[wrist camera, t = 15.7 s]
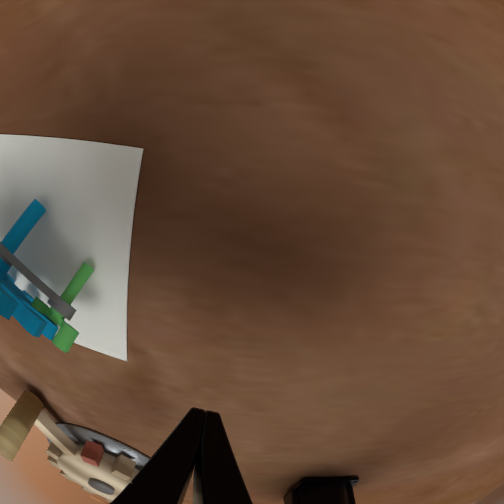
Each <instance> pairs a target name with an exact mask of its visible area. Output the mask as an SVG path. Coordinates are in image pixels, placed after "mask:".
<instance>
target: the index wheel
mask: <svg viewBox="0 0 504 504" xmlns="http://www.w3.org/2000/svg"><path fill="white" fill-rule="evenodd" d="M43 408H44V405H43V403H42V402H41V400H40V399H39V398H38V397H37V396H36V395H34V394H33V393H31V392H29V391H24V392H23V394H22V395H21V397H20V398H19V399H18V401H17V402H16V404H15V405H14V407H13V408H12V409H11V411H10V413H9V414H8V415H7V417H6V418H5V420H4V421H3V423H2V424H1V426H0V454H1V455H2V456H4V457H5V458H7V459H8V460H10V461H13V459H14V458H15V456H16V454H17V452H18V450H19V449H20V447H21V445H22V443H23V442H24V440H25V438H26V436H27V435H28V433H29V431H30V429H31V428H32V426H33V425H34V424H35V425H36V426H37V427H38V428H39V429H40V430H41V431H42V432H43V433H44V434H45V435H46V436H47V437H48V438H49V439H50V440H51V441H52V442H51V443H50V446H49V447H48V449H47V451H46V453H47V454H48V455H49V457H48V460H49V462H50V463H51V465H53V466H55V467H57V468H59V469H61V472H60V474H62V475H63V476H64V477H65V478H67V479H68V480H71V481H75V482H77V483H78V484H80V485H82V489H84V490H85V491H87V492H89V493H91V494H95V493H97V494H98V495H101V496H103V497H105V498H106V499H107V501H109V502H112V501H113V500H114V499H115V498H116V497H117V496H118V495H119V494H120V493H121V492H122V491H123V489H124V488H125V487H126V486H127V485H128V484H129V483H131V481H132V479H133V478H134V477H135V476H136V475H137V474H138V472H139V470H138V469H136V468H134V467H135V464H136V462H135V461H133V460H131V459H129V458H127V457H126V456H124V455H122V454H121V455H120V456H118V457H117V458H116V457H114V456H112V455H109V454H107V453H105V452H104V450H103V447H102V445H99V444H96V443H94V442H91V441H88V440H87V441H86V443H85V445H81V444H75V443H74V442H73V441H72V440H71V439H70V438H69V437H68V436H67V435H66V434H65V433H64V432H63V431H62V430H61V429H60V428H59V427H58V426H57V425H56V424H55V423H54V422H53V421H52V420H51V419H50V418H49V417H48V416H47V415H46V413H45V412H44V411H43Z"/></svg>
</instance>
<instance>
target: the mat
mask: <svg viewBox="0 0 504 504" xmlns="http://www.w3.org/2000/svg"><path fill="white" fill-rule="evenodd" d="M142 155H143V149H142V148H136V147H129V146H122V145H115V144H108V143H100V142H92V141H83V140H74V139H64V138H54V137H41V136H27V135H8V134H0V242H1V241H2V240H3V239H4V237H5V236H6V235H7V233H8V232H9V230H10V229H11V228H12V226H13V225H14V224H15V223H16V221H17V220H18V219H19V217H20V216H21V215H22V214H23V212H24V211H25V210H26V209H27V207H28V206H29V205H30V204H31V203H32V201H33V200H34V199H36V200H37V201H39V202H40V203H41V204H42V206H43V207H44V208H45V209H46V212H45V213H44V214H43V216H42V217H41V218H40V219H39V221H38V222H37V223H36V224H35V226H34V227H33V228H32V230H31V231H30V232H29V234H28V235H27V236H26V238H25V239H24V240H23V242H22V243H21V244H20V246H19V247H18V249H17V250H16V251H15V253H14V254H13V255H14V256H15V257H16V258H17V259H18V260H20V261H21V262H22V263H23V264H24V265H25V266H26V267H27V268H28V269H29V270H30V271H31V272H32V273H33V274H35V275H36V276H37V277H38V278H39V279H40V280H41V281H42V282H44V283H45V284H46V285H47V286H48V287H49V288H50V289H52V290H53V291H54V292H55V293H56V294H58V295H59V296H61V295H62V293H63V292H64V290H65V289H66V287H67V286H68V284H69V283H70V281H71V280H72V278H73V277H74V276H75V274H76V273H77V271H78V270H79V269H80V267H81V266H82V264H83V263H84V262H85V263H86V264H88V265H89V266H90V267H91V268H92V269H93V270H94V271H93V273H92V274H91V276H90V277H89V278H88V280H87V281H86V283H85V284H84V286H83V287H82V289H81V290H80V291H79V293H78V294H77V296H76V297H75V299H74V300H73V302H72V303H71V306H72V307H73V308H75V309H76V310H77V311H76V312H75V314H74V315H73V317H72V318H71V320H70V321H69V320H68V319H66V318H65V319H64V321H65V322H66V323H68V324H69V325H71V326H72V327H73V328H74V329H76V330H77V331H78V332H79V335H78V336H77V338H76V339H75V341H74V343H76V344H79V345H82V346H84V347H87V348H90V349H92V350H95V351H98V352H101V353H104V354H106V355H109V356H112V357H115V358H118V359H121V360H124V361H127V299H128V277H129V261H130V248H131V237H132V227H133V217H134V209H135V201H136V193H137V186H138V180H139V173H140V167H141V161H142ZM7 273H8V274H9V275H10V276H11V277H12V278H13V279H14V280H15V282H14V284H15V285H16V286H17V287H18V288H19V289H20V290H22V291H23V290H25V291H26V292H27V293H28V294H29V295H31V296H32V297H33V298H34V299H35V297H38V298H39V299H40V300H42V301H43V302H44V303H45V304H46V305H47V306H48V307H49V308H50V307H51V306H50V305H49V304H48V303H47V301H48V300H49V298H48V297H47V296H46V295H45V294H44V293H43V292H41V291H40V290H39V289H38V288H37V287H36V286H35V285H33V284H32V283H31V282H30V281H29V280H28V279H27V278H26V277H25V276H24V275H22V274H21V273H20V272H19V271H18V270H17V269H16V268H15V267H14V266H13V265H12V266H11V268H10V269H9V271H8V272H7ZM58 327H59V326H58ZM59 328H60V327H59ZM58 330H59V329H58ZM57 332H58V331H57ZM57 332H56V333H57ZM55 335H56V334H55Z"/></svg>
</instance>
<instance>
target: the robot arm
mask: <svg viewBox="0 0 504 504" xmlns="http://www.w3.org/2000/svg"><path fill="white" fill-rule="evenodd" d="M194 465H195V467H194ZM193 470H194V482H193V504H253V503H252V501H251V498H250V496H249V493H248V491H247V488H246V486H245V483H244V481H243V478H242V476H241V473H240V470H239V468H238V465H237V462H236V460H235V457H234V454H233V451H232V449H231V446H230V443H229V440H228V437H227V434H226V431H225V428H224V426H223V423H222V420H221V417H220V414H219V413H217V412H213V411H206V412H205V410H203V409H199V408H194V407H193V408H191V409H190V410H189V412H188V413H187V414H186V415H185V417H184V418H183V419H182V420H181V422H180V423H179V424H178V425H177V427H176V428H175V429H174V430H173V432H172V433H171V434H170V435H169V436H168V438H167V439H166V440H165V441H164V443H163V444H162V445H161V446H160V447H159V449H158V450H157V451H156V452H155V453H154V455H153V456H152V457H151V458H150V459H149V461H148V462H147V463H146V464H145V465H144V467H143V468H142V469H141V470H140V471H139V472H138V474H137V475H136V476H135V477H134V478H133V479H132V481H131V483H129V484H128V485H127V486H126V487H125V488H124V489H123V491H122V492H121V493H120V494H119V495H118V496H117V497H116V498H115V499H114V500H113V501H112V502H111V503H110V504H182V502H183V500H184V497H185V494H186V491H187V488H188V485H189V482H190V479H191V476H192V473H193ZM358 482H359V477H346V478H305V479H302V480H301V481H300V482H299V483H298V484H297V485H296V486H295V487H294V488H293V489H292V490H291V491H290V492H289V493H288V494H287V495H286V496H285V497H284V504H356V503H355V498H354V493H353V488H352V487H353V486H354V485H355V484H357V483H358Z"/></svg>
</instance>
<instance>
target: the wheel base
mask: <svg viewBox="0 0 504 504" xmlns="http://www.w3.org/2000/svg"><path fill="white" fill-rule="evenodd" d="M55 424H56V425H57V426H58V427H59V428H60V429H61V430H62V431H63V432H64V433H65V434H66V435H67V436H68V437H69V438H70V439H71V440H72V441H73V442H74V443H75V444H81V445H85V443H86V441H87V440H88V441H91V442H94V443H96V444H99V445H102V447H103V450H104V452H105V453H107V454H109V455H112V456H114V457H116V458H117V457H118V456H120V455H121V454H122V455H124V456H126V457H127V458H129V459H131V460H133V461H135V462H136V464H135V467H134V468H136V469H138V470H139V471H140V470H141V469H142V468H143V467H144V465H145V464H146V463H147V462H148V461H149V459H150V457H148V456H146V455H145V454H143V453H141V452H140V451H138V450H136V449H134V448H132V447H130V446H128V445H126V444H124V443H122V442H120V441H118V440H115V439H113V438H111V437H109V436H106V435H104V434H101V433H99V432H96V431H93V430H91V429H88V428H84V427H81V426H77V425H73V424H68V423H55ZM46 437H47V436H46ZM47 439H48V442H49V443H51V442H52V441H51V440H50V439H49V438H48V437H47Z"/></svg>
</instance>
